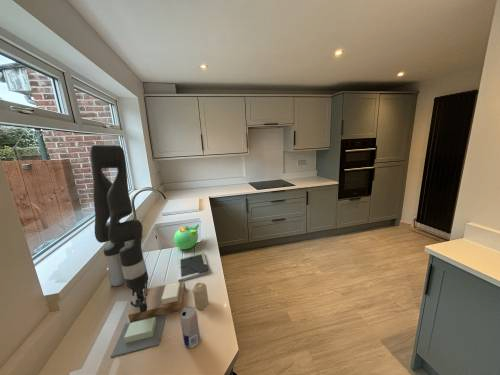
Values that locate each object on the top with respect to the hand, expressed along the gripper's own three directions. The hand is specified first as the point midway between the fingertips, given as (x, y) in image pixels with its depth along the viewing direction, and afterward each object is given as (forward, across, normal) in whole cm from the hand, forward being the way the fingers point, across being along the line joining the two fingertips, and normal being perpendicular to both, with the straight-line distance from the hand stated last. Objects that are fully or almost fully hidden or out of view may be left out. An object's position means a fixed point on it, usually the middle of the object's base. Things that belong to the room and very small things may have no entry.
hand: (144, 310), depth 78 cm
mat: (+5, +6, 0) cm, 8 cm away
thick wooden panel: (+5, -8, +4) cm, 10 cm away
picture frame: (+6, -32, +16) cm, 36 cm away
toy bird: (+5, -58, +12) cm, 59 cm away
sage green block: (+2, +6, 0) cm, 6 cm away
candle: (+5, -1, +22) cm, 22 cm away
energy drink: (+5, +15, +19) cm, 24 cm away
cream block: (+1, -6, +9) cm, 11 cm away
